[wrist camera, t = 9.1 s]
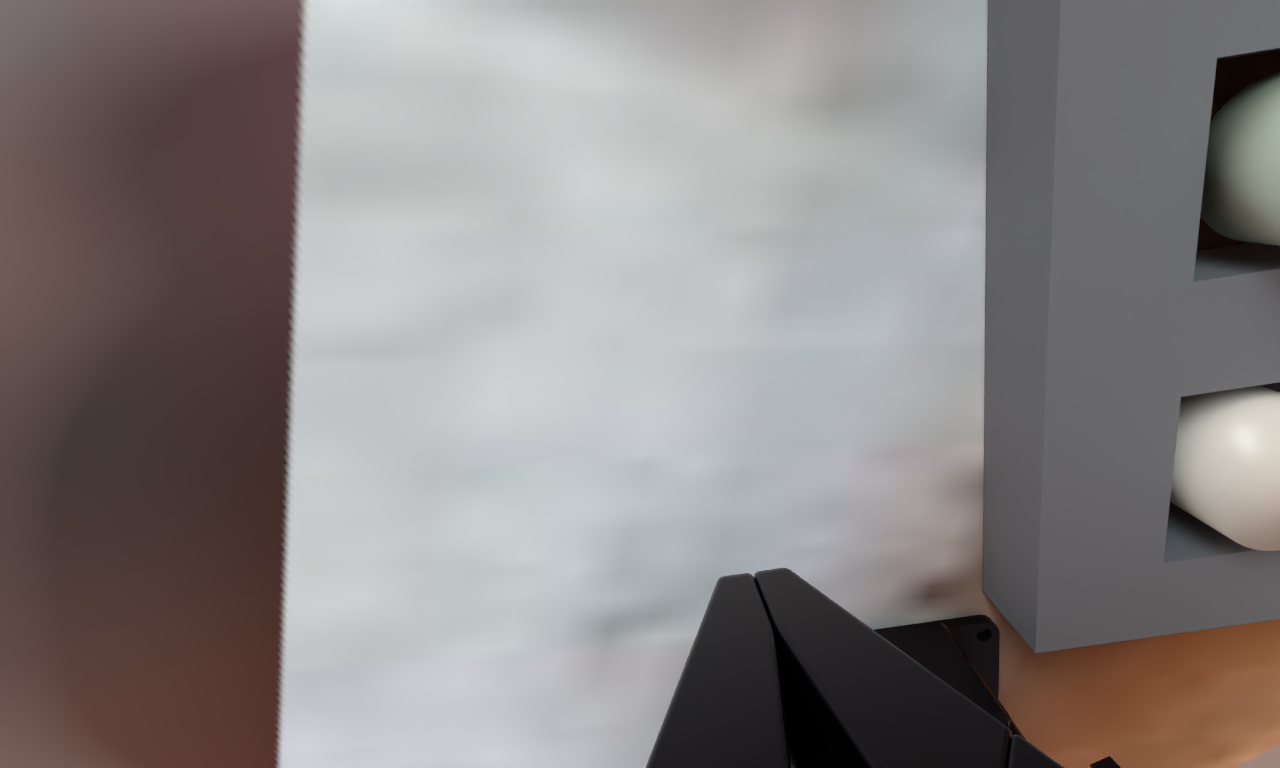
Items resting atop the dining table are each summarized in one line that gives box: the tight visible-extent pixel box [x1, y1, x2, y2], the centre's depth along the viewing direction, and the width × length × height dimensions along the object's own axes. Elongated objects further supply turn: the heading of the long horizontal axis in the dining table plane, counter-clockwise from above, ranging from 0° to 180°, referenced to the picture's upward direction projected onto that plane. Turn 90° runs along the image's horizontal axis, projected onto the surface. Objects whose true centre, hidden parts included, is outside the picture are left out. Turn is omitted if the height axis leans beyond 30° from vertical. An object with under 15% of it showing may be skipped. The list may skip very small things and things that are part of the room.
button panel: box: [983, 0, 1280, 653], centre depth 17 cm, size 26×12×3 cm, turn 9°
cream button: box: [1170, 385, 1280, 551], centre depth 19 cm, size 4×4×3 cm
